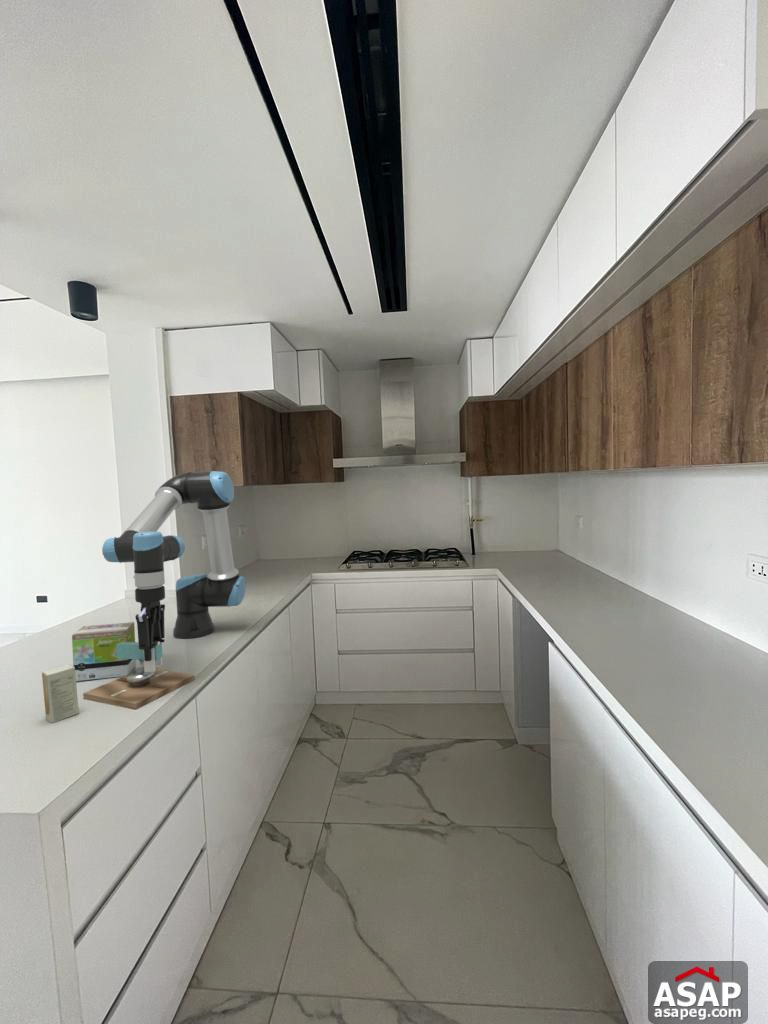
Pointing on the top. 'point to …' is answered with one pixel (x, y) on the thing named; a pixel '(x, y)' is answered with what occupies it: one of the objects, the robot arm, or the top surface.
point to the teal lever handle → (137, 659)
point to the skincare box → (60, 693)
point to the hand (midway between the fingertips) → (153, 668)
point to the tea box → (101, 651)
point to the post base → (138, 689)
